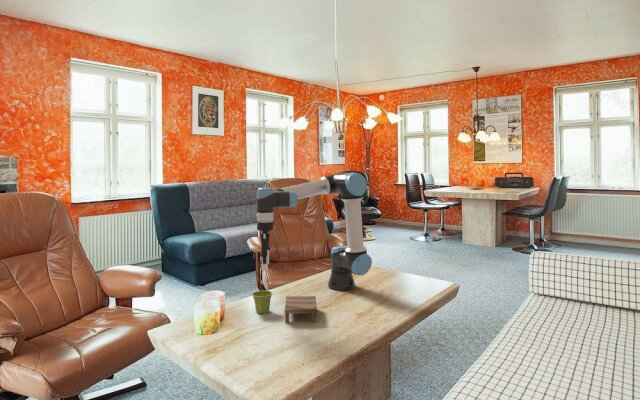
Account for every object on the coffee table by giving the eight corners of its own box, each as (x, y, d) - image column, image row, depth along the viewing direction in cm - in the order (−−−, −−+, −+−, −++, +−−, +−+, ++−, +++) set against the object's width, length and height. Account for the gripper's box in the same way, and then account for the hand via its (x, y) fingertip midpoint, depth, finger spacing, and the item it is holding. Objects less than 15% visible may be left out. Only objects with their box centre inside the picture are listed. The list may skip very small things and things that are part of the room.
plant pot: (248, 311, 187) (247, 293, 187) (264, 306, 194) (263, 289, 194) (260, 316, 181) (260, 297, 180) (276, 311, 188) (276, 293, 187)
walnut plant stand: (286, 308, 191) (286, 296, 191) (315, 308, 192) (315, 295, 191) (284, 323, 173) (284, 309, 173) (317, 322, 174) (317, 309, 174)
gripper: (258, 218, 196) (259, 260, 198) (254, 225, 171) (255, 274, 173) (274, 218, 197) (274, 260, 198) (272, 225, 172) (272, 273, 173)
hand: (265, 267), depth 186 cm, fingers open, 13 cm apart
